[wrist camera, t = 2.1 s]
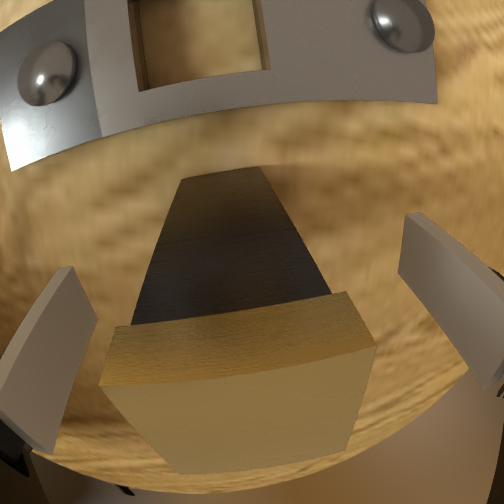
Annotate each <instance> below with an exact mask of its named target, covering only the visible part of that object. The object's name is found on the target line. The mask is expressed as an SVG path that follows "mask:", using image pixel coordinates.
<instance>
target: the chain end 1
mask: <svg viewBox="0 0 504 504" xmlns="http://www.w3.org/2000/svg"><path fill="white" fill-rule="evenodd" d="M252 3H253V9H254V16H255V23H256V29H257V36H258V43H259V50H260V57H261V64H262V70H266V64H265V57H264V50H263V43H262V36H261V29H260V22H259V16H258V9H257V3H256V0H252ZM133 6H134V16H135V26H136V34H137V43H138V50H139V58H140V65H141V72H142V78H143V85H144V91H146V90H150V89H149V83H148V77H147V70H146V63H145V56H144V49H143V41H142V33H141V24H140V15H139V5H138V0H133ZM0 120H1V126H2V131H3V136H4V141H5V146H6V150H7V154H8V159H9V163H10V166H11V170H12V171H14V170H16V169H18V168H21V167H23V166H25V165H27V164H30V163H32V162H35V161H37V160H39V159H42V158H44V157H47V156H49V155H52V154H55V153H57V152H60V151H62V150H65V149H68V148H71V147H74V146H76V145H79V144H82V143H85V142H88V141H91V140H94V139H98V138H101V137H102V132H101V128H100V123H99V118H98V112H97V107H96V101H95V95H94V89H93V83H92V76H91V69H90V61H89V53H88V44H87V33H86V20H85V3H84V0H53V1H52V2H50V3H48V4H46V5H44V6H42V7H40V8H38V9H37V10H35V11H33V12H31V13H30V14H28V15H26V16H25V17H23V18H21V19H20V20H18V21H16V22H15V23H13V24H12V25H10V26H9V27H7V28H6V29H4V30H3V31H1V32H0Z"/></svg>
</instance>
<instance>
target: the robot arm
mask: <svg viewBox="0 0 504 504" xmlns="http://www.w3.org/2000/svg"><path fill="white" fill-rule="evenodd" d="M398 274H399V275H400V276H401V277H402V279H403V280H404V281H405V282H406V284H407V285H408V286H409V287H410V288H411V290H412V291H413V292H414V293H415V295H416V296H417V297H418V298H419V300H420V301H421V302H422V303H423V305H424V306H425V307H426V309H427V310H428V311H429V313H430V314H431V315H432V316H433V318H434V319H435V320H436V322H437V323H438V324H439V326H440V327H441V328H442V330H443V331H444V333H445V334H446V335H447V337H448V338H449V339H450V341H451V342H452V344H453V345H454V346H455V348H456V349H457V351H458V352H459V354H460V355H461V357H462V358H463V359H464V361H465V362H466V364H467V365H468V367H469V368H470V370H471V371H472V373H473V374H474V376H475V377H476V379H477V381H478V382H479V384H480V385H481V387H482V388H483V390H484V389H486V388H487V387H489V386H491V385H492V384H494V383H496V382H497V381H498V380H499V379H500V378H501V377H502V375H503V374H504V277H503V276H502V275H501V274H500V273H498V272H497V271H495V270H493V269H491V268H490V267H488V266H486V265H485V264H484V263H483V262H482V261H481V260H480V259H479V258H477V257H476V256H475V255H474V254H473V253H472V252H470V251H469V250H468V249H467V248H466V247H464V246H463V245H462V244H461V243H460V242H458V241H457V240H456V239H455V238H453V237H452V236H451V235H450V234H448V233H447V232H446V231H445V230H443V229H442V228H441V227H439V226H438V225H437V224H436V223H434V222H433V221H432V220H430V219H429V218H428V217H426V216H425V215H424V214H422V213H421V212H417V213H409V214H405V222H404V231H403V239H402V247H401V254H400V261H399V267H398ZM97 321H98V318H97V316H96V314H95V312H94V310H93V308H92V306H91V304H90V302H89V300H88V298H87V296H86V294H85V292H84V290H83V288H82V286H81V284H80V281H79V279H78V277H77V275H76V273H75V270H74V268H73V266H70V267H65V268H59V269H58V270H57V271H56V273H55V274H54V275H53V277H52V278H51V280H50V281H49V282H48V284H47V285H46V287H45V288H44V289H43V291H42V292H41V294H40V295H39V297H38V298H37V300H36V301H35V303H34V304H33V306H32V307H31V309H30V310H29V312H28V313H27V315H26V317H25V318H24V320H23V321H22V323H21V325H20V326H19V328H18V330H17V331H16V333H15V335H14V336H13V338H12V340H11V341H10V343H9V345H8V347H7V348H6V349H5V350H4V352H3V353H2V355H1V357H0V504H50V503H49V501H48V499H47V497H46V495H45V492H44V490H43V488H42V486H41V483H40V481H39V478H38V476H37V473H36V471H35V468H34V466H33V463H32V460H31V457H30V455H29V453H30V452H31V451H32V449H33V448H34V449H35V450H36V451H40V452H44V453H48V454H52V455H53V451H54V447H55V443H56V440H57V436H58V432H59V429H60V425H61V422H62V418H63V415H64V411H65V408H66V405H67V402H68V399H69V396H70V393H71V390H72V387H73V384H74V381H75V378H76V375H77V372H78V369H79V367H80V364H81V361H82V359H83V356H84V353H85V351H86V348H87V346H88V343H89V340H90V338H91V335H92V333H93V331H94V328H95V326H96V323H97ZM503 391H504V384H503V386H502V387H501V388H500V390H499V391H498V394H497V397H500V395H501V394H502V393H503ZM503 398H504V396H503ZM487 504H504V425H503V432H502V439H501V445H500V451H499V456H498V461H497V466H496V470H495V475H494V479H493V483H492V486H491V490H490V494H489V497H488V501H487Z"/></svg>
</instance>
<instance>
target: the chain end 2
mask: <svg viewBox="0 0 504 504" xmlns="http://www.w3.org/2000/svg"><path fill="white" fill-rule="evenodd" d="M84 3H85V20H86V33H87V44H88V53H89V61H90V69H91V76H92V83H93V89H94V95H95V101H96V107H97V112H98V118H99V123H100V128H101V132H102V137H107V136H110V135H113V134H117V133H120V132H124V131H127V130H131V129H135V128H139V127H143V126H147V125H151V124H155V123H159V122H163V121H168V120H172V119H177V118H182V117H187V116H192V115H197V114H203V113H209V112H215V111H221V110H227V109H234V108H242V107H249V106H258V105H267V104H277V103H289V102H304V101H326V100H381V101H402V102H416V103H427V104H437V85H436V71H435V61H434V52H433V44H432V43H433V40H434V35H435V30H434V24H433V20H432V18H431V16H430V14H429V12H428V10H427V8H426V3H425V0H256V3H257V9H258V16H259V22H260V29H261V36H262V43H263V50H264V57H265V64H266V70H261V71H251V72H242V73H234V74H227V75H220V76H213V77H207V78H201V79H196V80H190V81H185V82H180V83H176V84H171V85H167V86H162V87H158V88H154V89H150V90H146V91H144V85H143V78H142V72H141V65H140V58H139V50H138V43H137V34H136V26H135V16H134V6H133V0H84Z"/></svg>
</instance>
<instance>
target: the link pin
mask: <svg viewBox="0 0 504 504" xmlns="http://www.w3.org/2000/svg"><path fill="white" fill-rule="evenodd" d="M376 348H377V344H376V342H375V341H374V339H373V337H372V335H371V334H370V332H369V330H368V328H367V326H366V325H365V323H364V321H363V320H362V318H361V316H360V314H359V313H358V311H357V309H356V307H355V306H354V304H353V302H352V301H351V299H350V297H349V296H348V294H347V292H346V291H344V292H339V293H334V294H332V293H331V291H330V289H329V287H328V285H327V284H326V282H325V280H324V278H323V276H322V274H321V273H320V271H319V269H318V267H317V265H316V263H315V262H314V260H313V258H312V256H311V254H310V253H309V251H308V249H307V247H306V246H305V244H304V242H303V240H302V239H301V237H300V235H299V233H298V231H297V230H296V228H295V226H294V225H293V223H292V221H291V219H290V218H289V216H288V214H287V212H286V211H285V209H284V207H283V206H282V204H281V202H280V201H279V199H278V197H277V196H276V194H275V192H274V191H273V189H272V187H271V186H270V184H269V182H268V181H267V179H266V177H265V176H264V174H263V172H262V171H261V169H260V167H252V168H245V169H238V170H232V171H226V172H220V173H214V174H208V175H202V176H197V177H192V178H186V179H182V180H181V182H180V185H179V187H178V190H177V192H176V194H175V197H174V199H173V202H172V205H171V207H170V210H169V212H168V215H167V217H166V220H165V223H164V225H163V228H162V231H161V233H160V236H159V239H158V242H157V244H156V247H155V250H154V253H153V256H152V259H151V261H150V264H149V267H148V270H147V273H146V276H145V279H144V282H143V285H142V289H141V292H140V295H139V298H138V301H137V305H136V308H135V311H134V315H133V318H132V321H131V325H130V326H121V327H116V328H115V331H114V334H113V338H112V341H111V344H110V347H109V350H108V354H107V357H106V360H105V364H104V367H103V371H102V374H101V378H100V381H99V385H98V386H99V387H100V388H101V390H102V391H103V392H104V394H105V395H106V396H107V397H108V399H109V400H110V401H111V402H112V404H113V405H114V406H115V407H116V408H117V410H118V411H119V412H120V413H121V414H122V415H123V417H124V418H125V419H126V420H127V421H128V422H129V423H130V425H131V426H132V427H133V428H134V429H135V430H136V431H137V432H138V433H139V434H140V435H141V437H142V438H143V439H144V440H145V441H146V442H147V443H148V444H149V445H150V446H151V447H152V448H153V449H154V450H155V451H156V452H157V453H158V454H159V455H160V456H161V457H162V458H163V459H164V460H165V461H166V462H167V463H169V464H170V465H171V466H172V467H173V468H174V469H175V470H176V471H177V472H178V473H179V474H209V473H224V472H235V471H244V470H253V469H260V468H267V467H273V466H279V465H285V464H290V463H295V462H300V461H305V460H310V459H314V458H318V457H322V456H326V455H330V454H334V453H338V452H341V451H345V449H346V446H347V444H348V441H349V438H350V435H351V433H352V430H353V427H354V424H355V421H356V418H357V415H358V412H359V409H360V406H361V403H362V399H363V396H364V393H365V389H366V386H367V382H368V379H369V375H370V372H371V368H372V364H373V360H374V356H375V352H376Z"/></svg>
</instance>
